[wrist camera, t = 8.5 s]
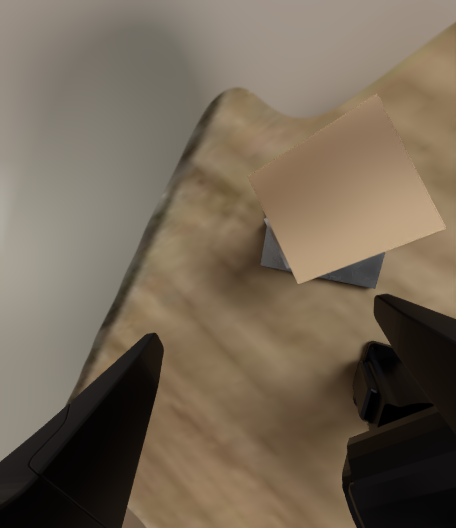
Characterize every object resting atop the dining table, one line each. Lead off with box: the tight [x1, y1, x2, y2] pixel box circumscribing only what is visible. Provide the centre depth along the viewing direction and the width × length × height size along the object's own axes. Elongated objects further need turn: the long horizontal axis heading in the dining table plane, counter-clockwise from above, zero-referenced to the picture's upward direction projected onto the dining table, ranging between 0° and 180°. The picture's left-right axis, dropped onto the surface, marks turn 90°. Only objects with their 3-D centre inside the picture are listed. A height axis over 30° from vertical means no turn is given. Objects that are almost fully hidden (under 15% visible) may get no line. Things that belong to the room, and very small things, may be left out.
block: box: [248, 94, 446, 284], centre depth 13 cm, size 5×9×13 cm, turn 117°
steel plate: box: [261, 227, 385, 289], centre depth 20 cm, size 10×10×1 cm
